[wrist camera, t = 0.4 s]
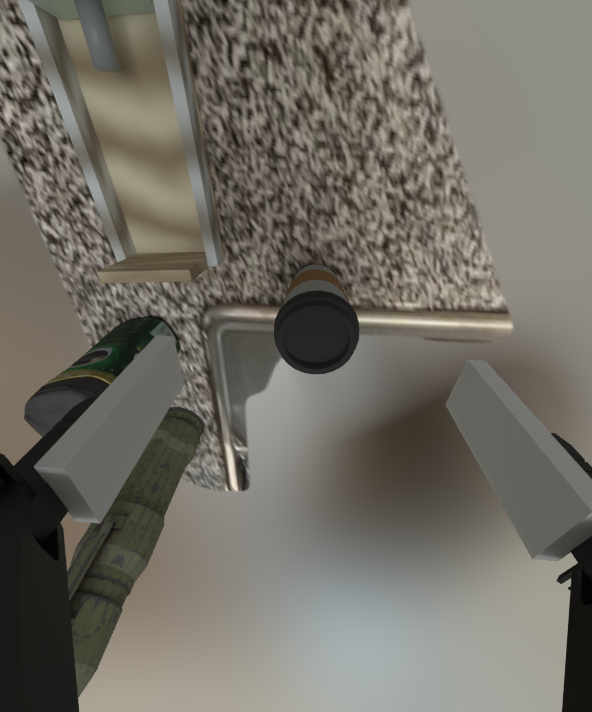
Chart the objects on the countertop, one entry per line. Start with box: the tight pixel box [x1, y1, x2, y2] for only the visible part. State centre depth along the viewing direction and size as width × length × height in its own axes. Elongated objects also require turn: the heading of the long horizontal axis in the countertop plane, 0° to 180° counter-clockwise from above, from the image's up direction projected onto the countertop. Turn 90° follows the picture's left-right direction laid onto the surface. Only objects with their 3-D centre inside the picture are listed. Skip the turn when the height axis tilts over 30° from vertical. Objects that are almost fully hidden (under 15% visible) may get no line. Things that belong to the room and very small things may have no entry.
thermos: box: [67, 408, 204, 697], centre depth 40 cm, size 9×12×35 cm
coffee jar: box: [24, 317, 179, 437], centre depth 36 cm, size 10×8×19 cm
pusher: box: [28, 0, 155, 73], centre depth 22 cm, size 5×9×7 cm, turn 92°
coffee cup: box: [274, 264, 359, 374], centre depth 32 cm, size 8×8×15 cm
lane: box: [18, 0, 225, 283], centre depth 27 cm, size 24×12×9 cm, turn 2°
